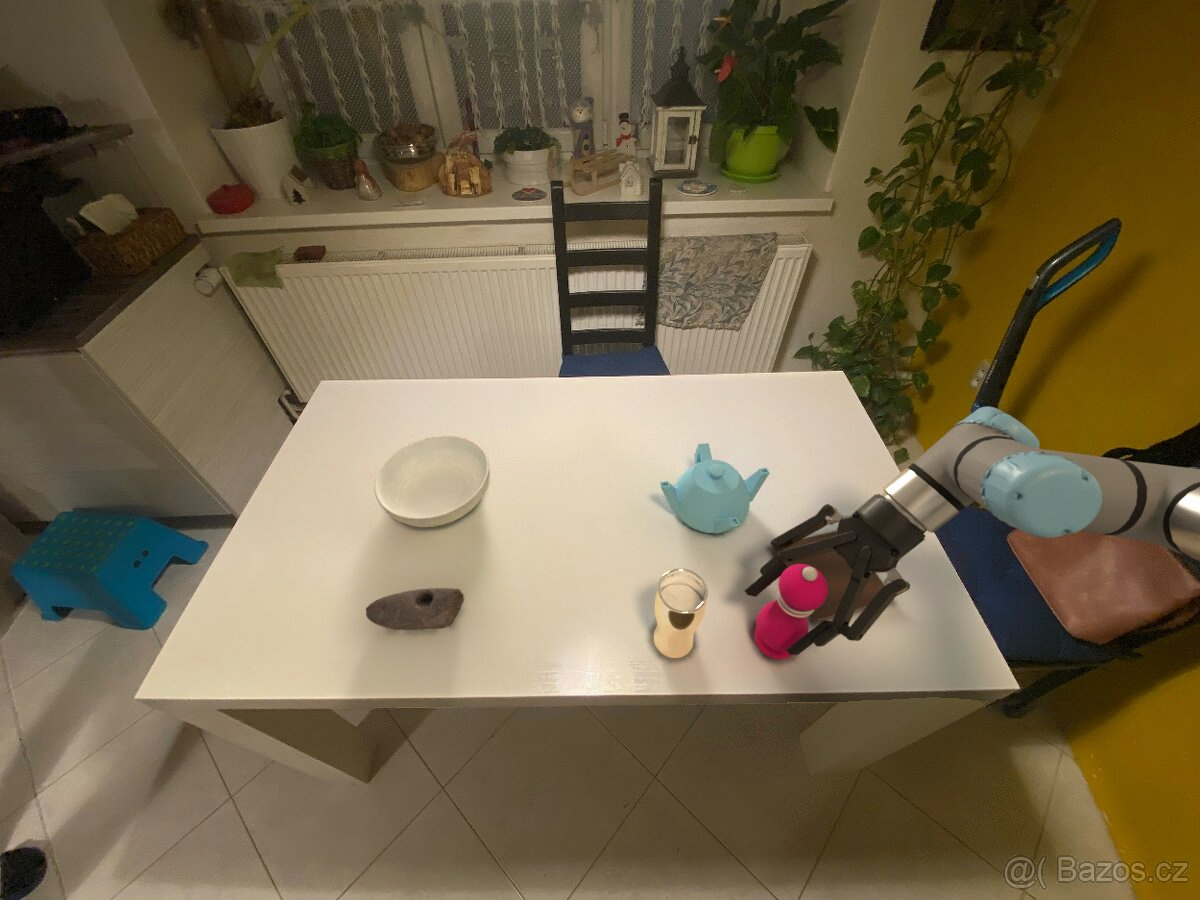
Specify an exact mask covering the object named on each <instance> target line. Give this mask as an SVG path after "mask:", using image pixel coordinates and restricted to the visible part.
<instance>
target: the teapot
mask: <svg viewBox="0 0 1200 900" xmlns="http://www.w3.org/2000/svg"><path fill="white" fill-rule="evenodd" d="M693 457H694V465H692V466H691V467H689V468H688V469H687V470H685V471H684V472H683V473H682V474H681V476H680V477H679V478H678V479H677V482H676V483H675V485H673V484H671V483H670V481H669V480H668V481H660V482H659V485H660V489H661V491H662V493H663V495H664V497H665V499H666V500H667V502H668V504H669V507H670V509H672V511H673V512H676V514H677V516H678V517H679V518H680V519H681V521H682V522H683V523H685V525H687V526H689V527H690V528H692V529H695V530H696V531H700V532H703V533H708V534H723V533H728V532H731V531H732V530H734V529H737V528H739V527H740V526H741V525H742V524H743V522H744V521H745V520H746V519H747V517H748V514H749V511H750V507H751V506H750V503H751V502H753V501H754V499H755V497H756V496H757V494H758V493H759V492H760V490H761V488H762V486H763V485H764V483H765V482H766V480H767V478H768V477H769V475H770V471H769V468H768V467H763V468H762V467H761V468H758V469H757V470H756V471H755V472H754V473H753V474H751V475H750V476H748V477H747V478H746V479H744V478H743V477H742V475H741V474H740V472H739V471H738V469H736V468H735V467H734V466H733V465H732V464H730V463H728V462H726V461H723V460H720V459H713V456H712V452H711V447H710V443H709V442H707V443H698V444H697V447H696V449H695V452H694V455H693Z"/></svg>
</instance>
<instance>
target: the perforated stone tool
mask: <svg viewBox="0 0 1200 900" xmlns="http://www.w3.org/2000/svg"><path fill="white" fill-rule="evenodd" d="M463 603H464V593H463V592H462V590H461V589H459V588H451V587H450V588H449V587H431V588H430V587H429V588H420V589H411V590H406V591H402V592H399V593H393V594H390V595H386V596H383V597H381V598H379V599H376V600H374V601H373V602H372V603H370V604H369V605H368V606H366V607H365V616H366V618H367V620H369V621H370V622H372V623H374V624H375V625H378V626H380V627H383V628H387V629H394V630H424V629H440V628H445V627H448V626H449V627H450V626H451V625H452V624H453V623H454V621H455V619H456V616H457V615H458V613H459V611H460V610H461V606H462V604H463Z"/></svg>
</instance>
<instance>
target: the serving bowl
mask: <svg viewBox="0 0 1200 900" xmlns="http://www.w3.org/2000/svg"><path fill="white" fill-rule="evenodd" d="M488 457H489V456H488V455H487V453H486V452H485V450H484V449H483V448H482V447H481V445H479V444H478V443H476V442H475V441H474V440H471V439H468V438H466V437H463V436H458V435H450V434H449V435H446V434H445V435H434V436H429V437H426V438H421V439H419V440H416V441H414V442H411V443H408V444H407V445H404V446H403V447H401V448H399V449H398V450H397V451H395V452H394V453H393V454H391V456H389V457H388V458H387V459H386V460H385V461H384V463H383V464H382V465H381V467H380V469H379V470H378V471H377V474H376V475H375V476H376V477H375V480H374V486H373V487H374V494H375V497H376V499H377V502H378V504H379V506H380V507H381V508H382V509H383V510H384V511H385V513H386V514H388V515H389V516H390V517H391V518H393V519H394V520H396V521H398V522H400V523H402V524H405V525H408V526H412V527H419V528H432V527H440V526H444V525H446V524H450V523H452V522H454V521H456V520H458V519H460V518H462V517H464V516H465V515H467V514H468V513H469V512H471V511H472V510H473V509H474V508H475V507H476V506H477V505H478V504H479V502H481V500H482V498H483V497H484V495H485V493H486V492H487V489H488V485H489V481H490V475H491V473H490V472H491V471H490V470H491V468H490V461H489V458H488Z"/></svg>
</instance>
